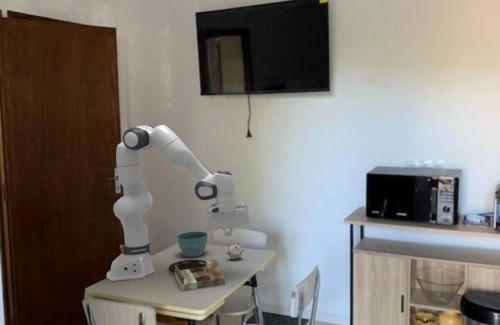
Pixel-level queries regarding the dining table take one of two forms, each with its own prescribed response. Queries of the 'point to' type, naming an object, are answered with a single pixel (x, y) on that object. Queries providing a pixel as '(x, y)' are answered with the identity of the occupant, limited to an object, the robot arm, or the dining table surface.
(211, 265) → the maple block
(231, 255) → the game die
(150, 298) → the dining table surface
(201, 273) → the box
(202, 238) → the flower pot
